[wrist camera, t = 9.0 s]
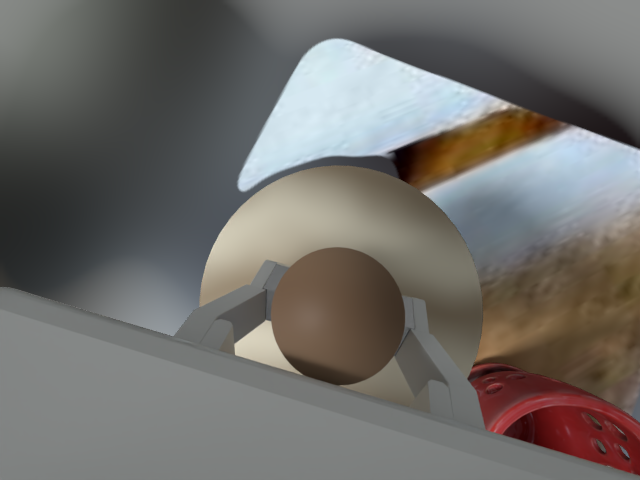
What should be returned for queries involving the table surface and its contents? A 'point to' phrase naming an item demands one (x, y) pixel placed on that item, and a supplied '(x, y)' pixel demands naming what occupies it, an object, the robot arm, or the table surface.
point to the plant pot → (555, 416)
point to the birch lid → (349, 277)
